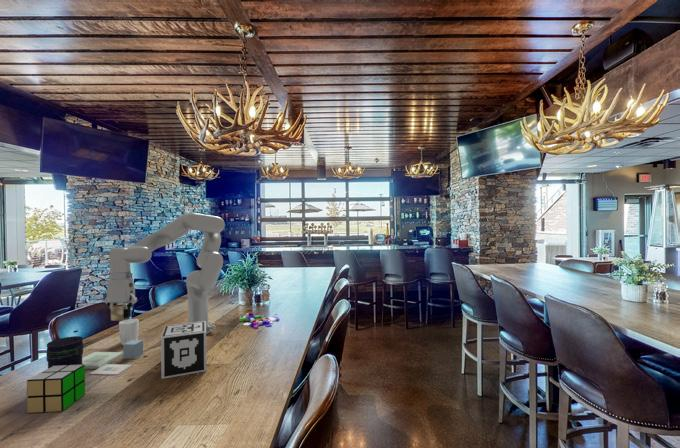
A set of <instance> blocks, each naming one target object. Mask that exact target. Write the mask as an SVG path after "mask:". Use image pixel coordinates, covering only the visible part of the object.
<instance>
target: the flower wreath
mask: <svg viewBox="0 0 680 448" xmlns="http://www.w3.org/2000/svg"><path fill="white" fill-rule="evenodd" d="M242 316H243V317H240V318H239V322H244V321H245V323H243V326H244V327H250V326H251V327H253V329H254V330H256V329H257V330H258V329H259V327H260V325H265V326H266V328H269V327H270V328H271V327H272V324H274V322H280V318H278V316H275V315H274V316H270V317H268V316H266V314H262V313H261V314H260V313H259V315H255V314H254V312H247V313H246V314H244V315H242ZM247 321H248V322H247Z"/></svg>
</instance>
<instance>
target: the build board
mask: <svg viewBox="0 0 680 448" xmlns="http://www.w3.org/2000/svg"><path fill="white" fill-rule="evenodd" d="M121 357H123V351H122V352H121V351H120V352H119V351H117V352H116V351H115V352H114V351H94V352H91V353H90V354H88V355H85V356H82V363H83V365H85V370H86V369H87V370H88V369H89V370H91V369H92V370H97V369H98V368H100V367H102V366H104V365H106V364H111V363H112V362H114V361H116V360H118V359H119V358H121Z"/></svg>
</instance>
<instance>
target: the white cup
mask: <svg viewBox="0 0 680 448" xmlns="http://www.w3.org/2000/svg"><path fill="white" fill-rule="evenodd" d="M139 325H140V320H139V319H138V318H127V319H125V320H122V321H118V328H119V329H118V330H119V339H120V345H122V346H123V344H125V343H127V342H129V341H131V340H139V339H138V338H139V327H140V326H139Z"/></svg>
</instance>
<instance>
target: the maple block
mask: <svg viewBox="0 0 680 448" xmlns="http://www.w3.org/2000/svg"><path fill="white" fill-rule="evenodd" d="M127 305H128V303H127ZM124 309H125V307H124V304H123V303H117V305H114V306H111V309H110V321H113V322H114V321H116V322H117V321H118V322H121V321H123V320H128V319H131V316H130V317H128V318H126V319H124Z"/></svg>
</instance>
